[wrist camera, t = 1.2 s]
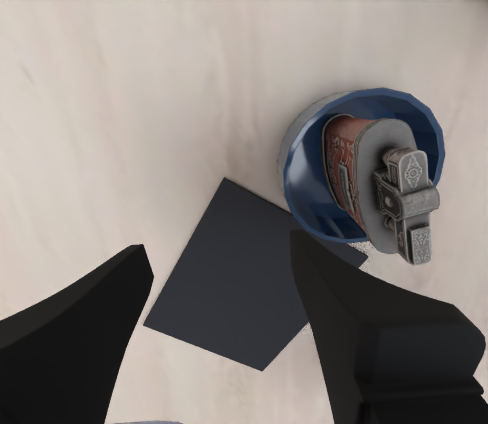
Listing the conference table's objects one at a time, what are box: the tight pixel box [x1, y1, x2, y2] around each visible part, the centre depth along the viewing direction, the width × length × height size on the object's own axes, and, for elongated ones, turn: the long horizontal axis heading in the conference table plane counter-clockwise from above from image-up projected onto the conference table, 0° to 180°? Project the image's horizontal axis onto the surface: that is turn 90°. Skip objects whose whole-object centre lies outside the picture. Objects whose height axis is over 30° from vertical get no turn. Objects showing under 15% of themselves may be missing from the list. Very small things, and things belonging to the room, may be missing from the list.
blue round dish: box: [277, 88, 445, 243], centre depth 19 cm, size 11×11×4 cm
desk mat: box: [143, 178, 368, 371], centre depth 26 cm, size 16×20×1 cm
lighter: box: [320, 113, 440, 266], centre depth 16 cm, size 8×3×10 cm, turn 19°
